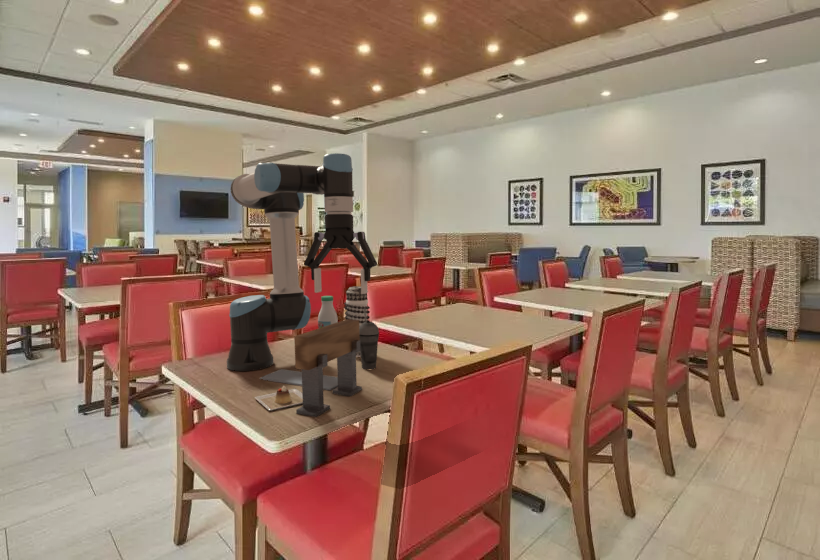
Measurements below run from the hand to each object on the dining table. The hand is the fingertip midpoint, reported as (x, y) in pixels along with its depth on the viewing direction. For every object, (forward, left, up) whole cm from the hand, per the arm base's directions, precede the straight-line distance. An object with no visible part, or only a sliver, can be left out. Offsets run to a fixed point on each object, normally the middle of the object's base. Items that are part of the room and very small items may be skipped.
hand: (340, 292), depth 131 cm
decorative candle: (-19, +39, -29) cm, 52 cm away
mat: (-19, +7, -29) cm, 35 cm away
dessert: (-13, -10, -29) cm, 34 cm away
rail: (-1, -5, -17) cm, 17 cm away
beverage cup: (-7, +26, -29) cm, 40 cm away
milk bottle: (-36, +45, -29) cm, 65 cm away
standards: (-1, -5, -29) cm, 29 cm away
